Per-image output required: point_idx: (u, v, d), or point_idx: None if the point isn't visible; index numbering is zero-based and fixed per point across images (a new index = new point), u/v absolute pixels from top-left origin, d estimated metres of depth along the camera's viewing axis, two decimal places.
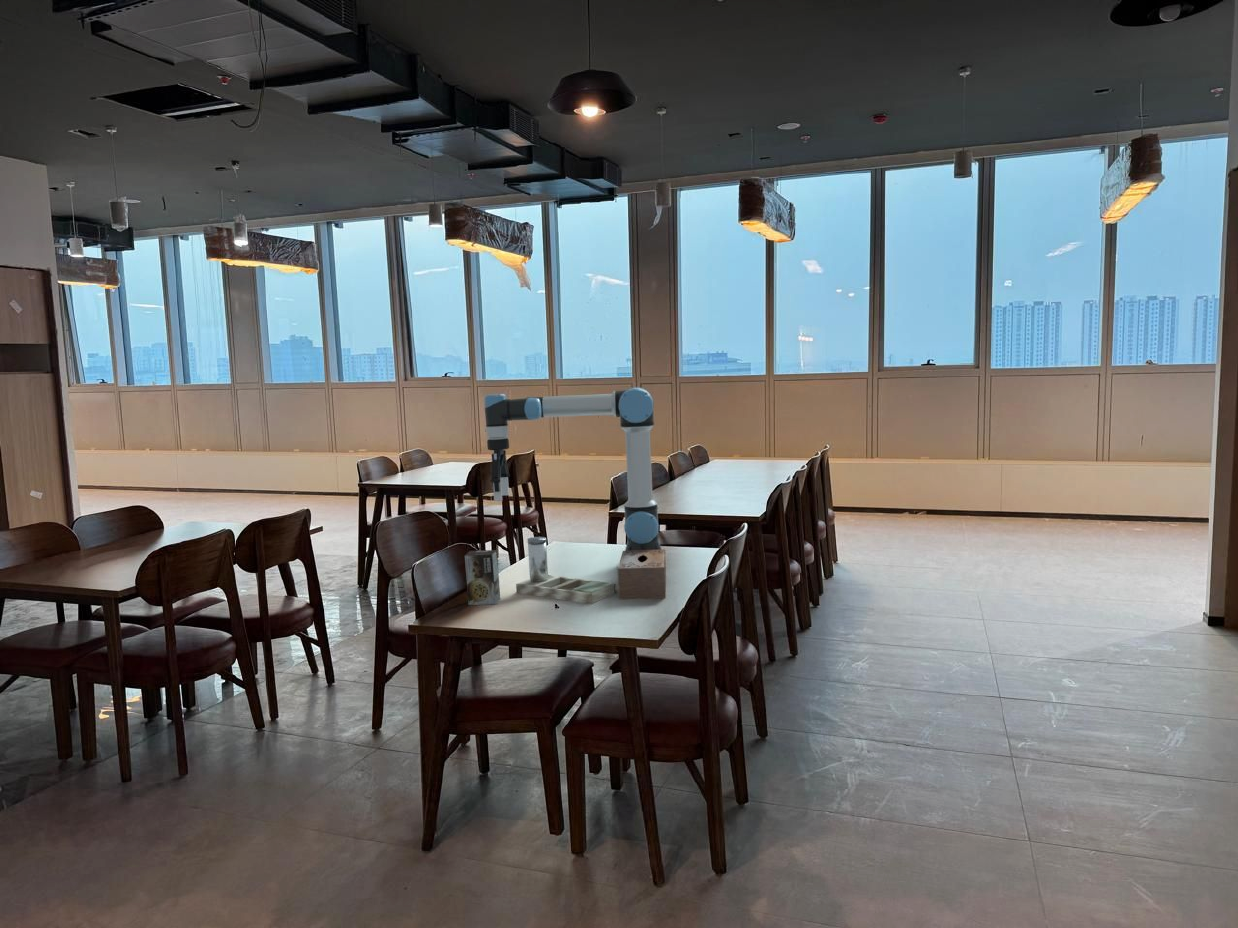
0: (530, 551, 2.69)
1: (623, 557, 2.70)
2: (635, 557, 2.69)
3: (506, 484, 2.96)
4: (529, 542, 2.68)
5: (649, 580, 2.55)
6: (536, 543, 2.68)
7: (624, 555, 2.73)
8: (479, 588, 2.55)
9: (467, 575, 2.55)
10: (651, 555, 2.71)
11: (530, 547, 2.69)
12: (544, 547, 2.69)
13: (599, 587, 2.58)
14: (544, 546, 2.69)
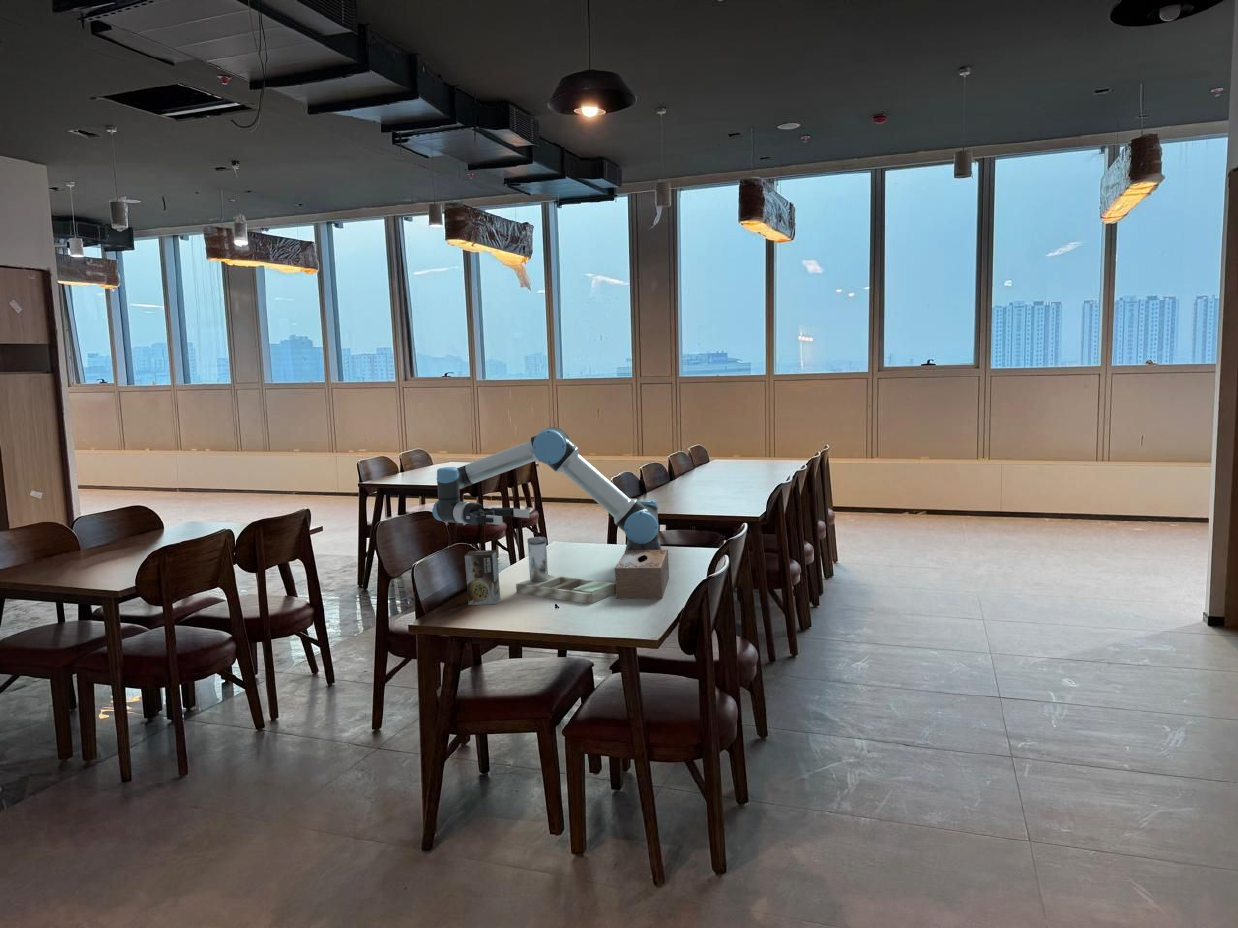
0: (530, 551, 2.69)
1: (624, 557, 2.70)
2: (636, 557, 2.69)
3: (519, 511, 2.82)
4: (529, 542, 2.68)
5: (646, 581, 2.55)
6: (536, 543, 2.68)
7: (625, 555, 2.73)
8: (479, 588, 2.55)
9: (467, 575, 2.55)
10: (652, 555, 2.71)
11: (530, 547, 2.69)
12: (544, 547, 2.69)
13: (599, 587, 2.58)
14: (544, 546, 2.69)
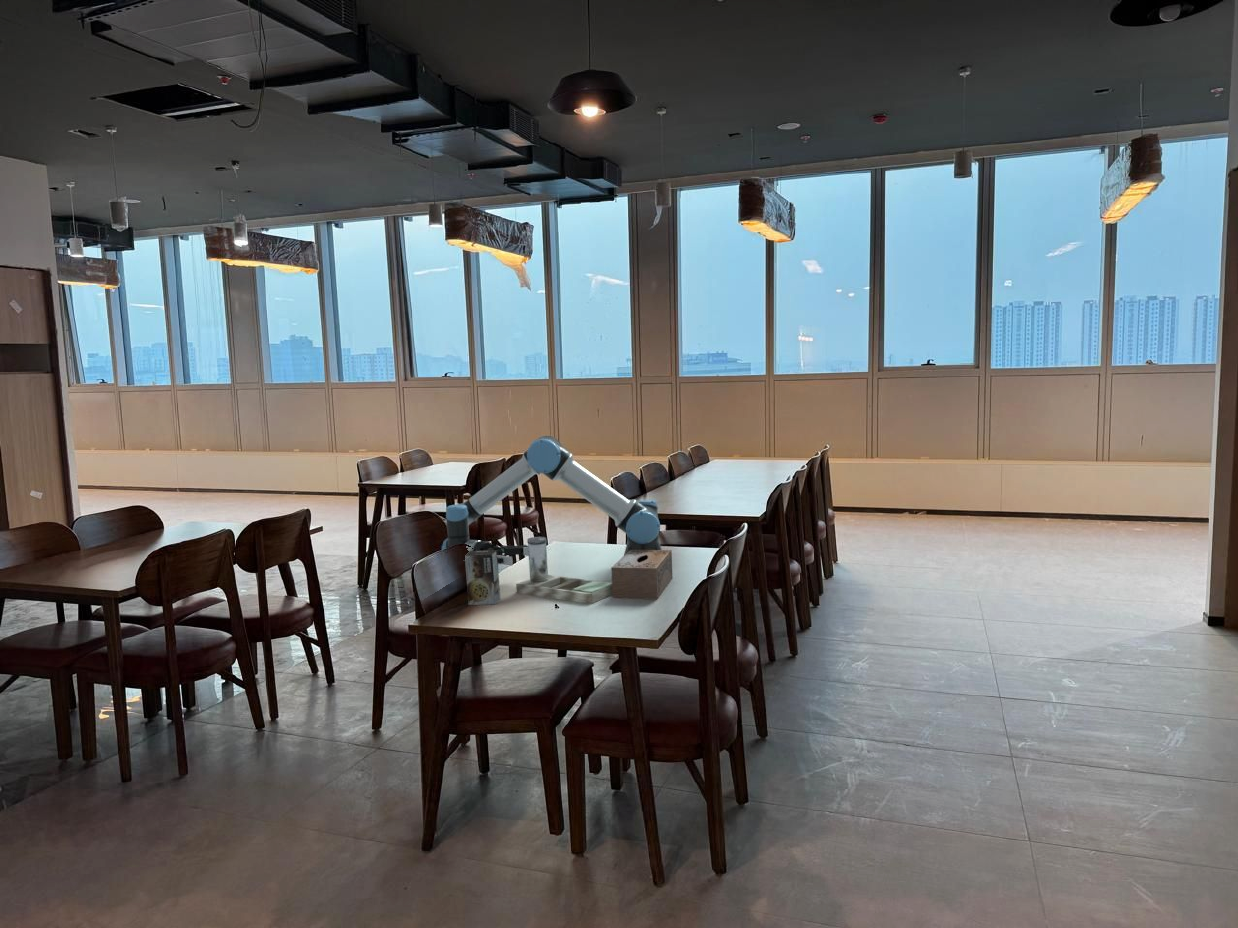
0: (530, 551, 2.69)
1: (625, 556, 2.71)
2: (636, 557, 2.70)
3: None
4: (529, 542, 2.68)
5: (642, 581, 2.55)
6: (536, 543, 2.68)
7: (627, 554, 2.74)
8: (479, 588, 2.55)
9: (467, 575, 2.56)
10: (653, 555, 2.70)
11: (530, 547, 2.69)
12: (544, 547, 2.69)
13: (599, 587, 2.58)
14: (544, 546, 2.69)
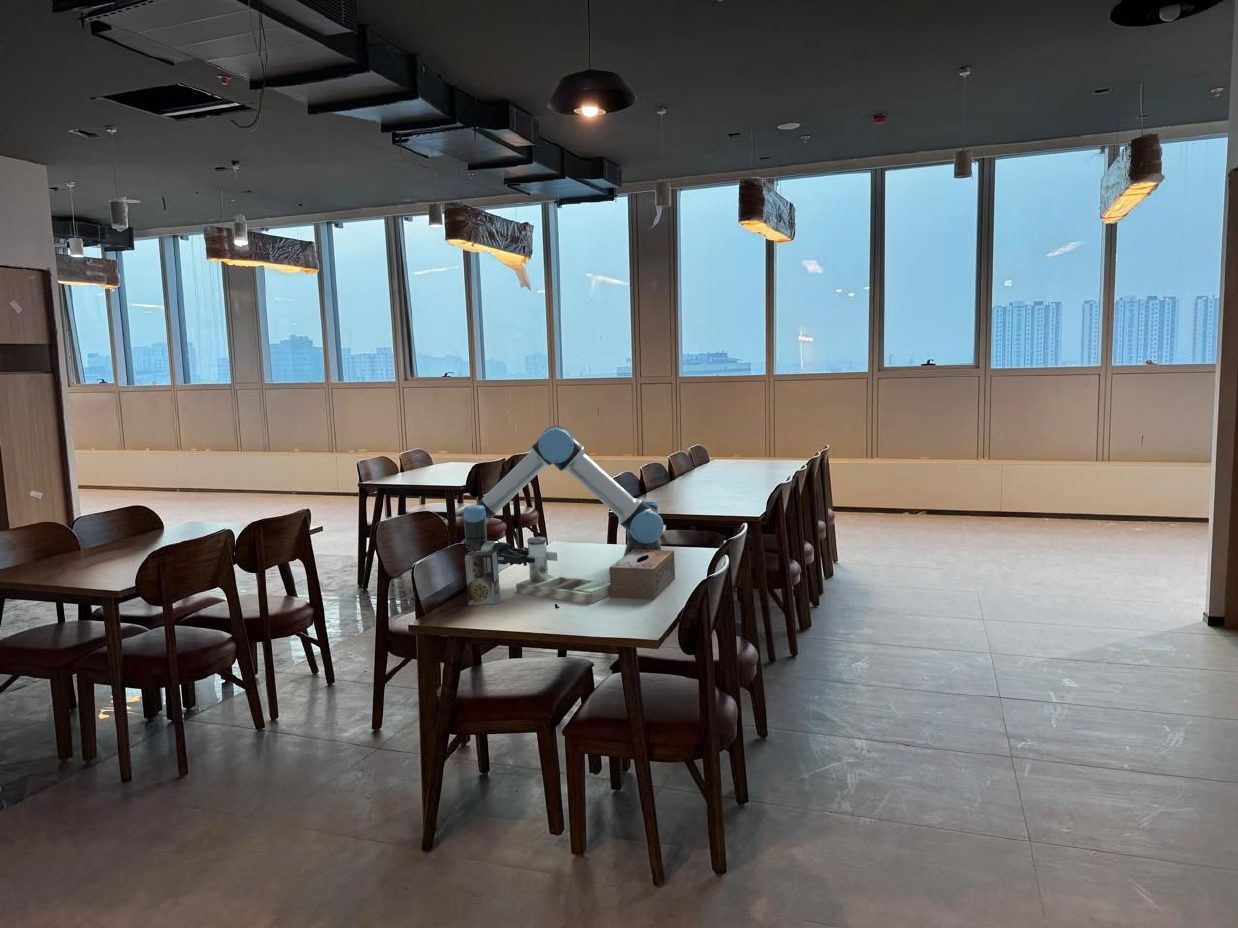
0: (530, 551, 2.69)
1: (626, 556, 2.71)
2: (637, 557, 2.70)
3: None
4: (529, 542, 2.68)
5: (639, 581, 2.55)
6: (536, 543, 2.68)
7: (629, 554, 2.74)
8: (479, 588, 2.55)
9: (467, 575, 2.55)
10: (654, 555, 2.70)
11: (530, 547, 2.69)
12: (544, 547, 2.69)
13: (599, 587, 2.58)
14: (544, 546, 2.69)
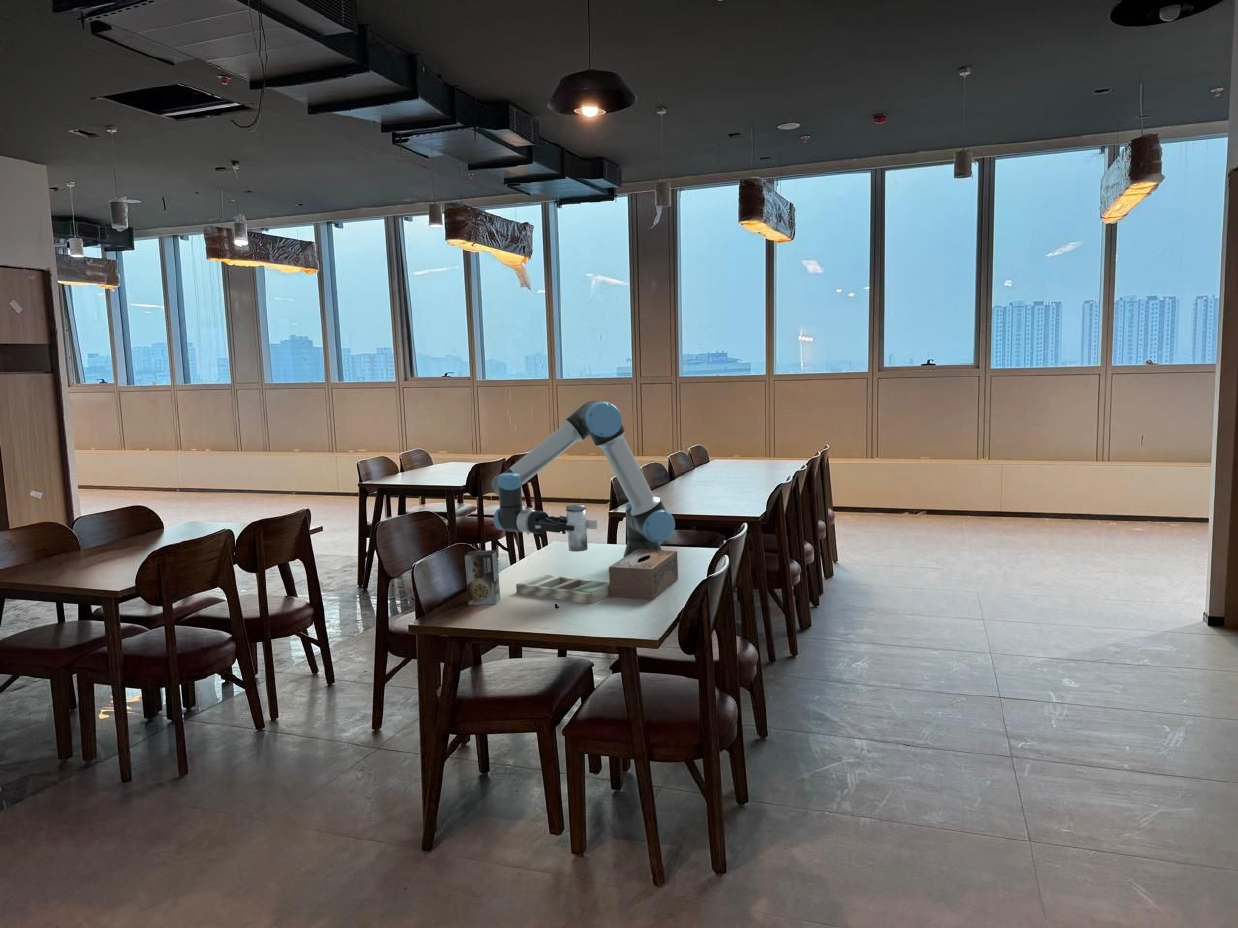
0: (569, 519, 2.57)
1: (628, 556, 2.71)
2: (639, 557, 2.70)
3: None
4: (568, 509, 2.56)
5: (638, 581, 2.55)
6: (575, 510, 2.55)
7: (632, 554, 2.74)
8: (479, 588, 2.55)
9: (467, 575, 2.56)
10: (656, 556, 2.70)
11: (569, 514, 2.56)
12: (584, 515, 2.57)
13: (599, 587, 2.58)
14: (583, 513, 2.57)
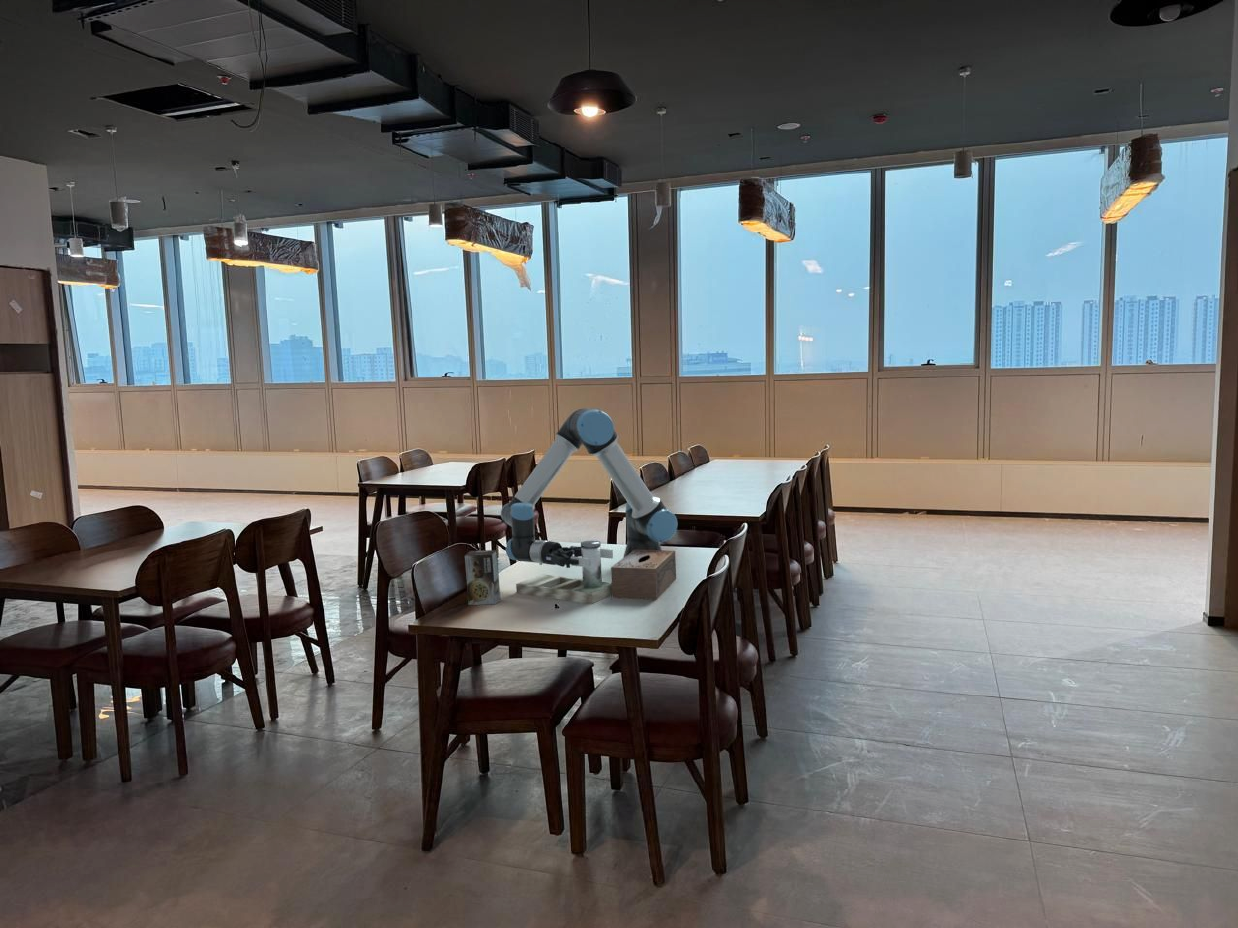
0: (584, 555, 2.56)
1: (627, 556, 2.71)
2: (638, 557, 2.69)
3: (601, 550, 2.64)
4: (583, 546, 2.56)
5: (641, 581, 2.54)
6: (590, 547, 2.55)
7: (630, 554, 2.74)
8: (479, 588, 2.55)
9: (467, 575, 2.55)
10: (655, 556, 2.70)
11: (584, 551, 2.56)
12: (599, 552, 2.57)
13: (599, 587, 2.58)
14: (598, 550, 2.57)
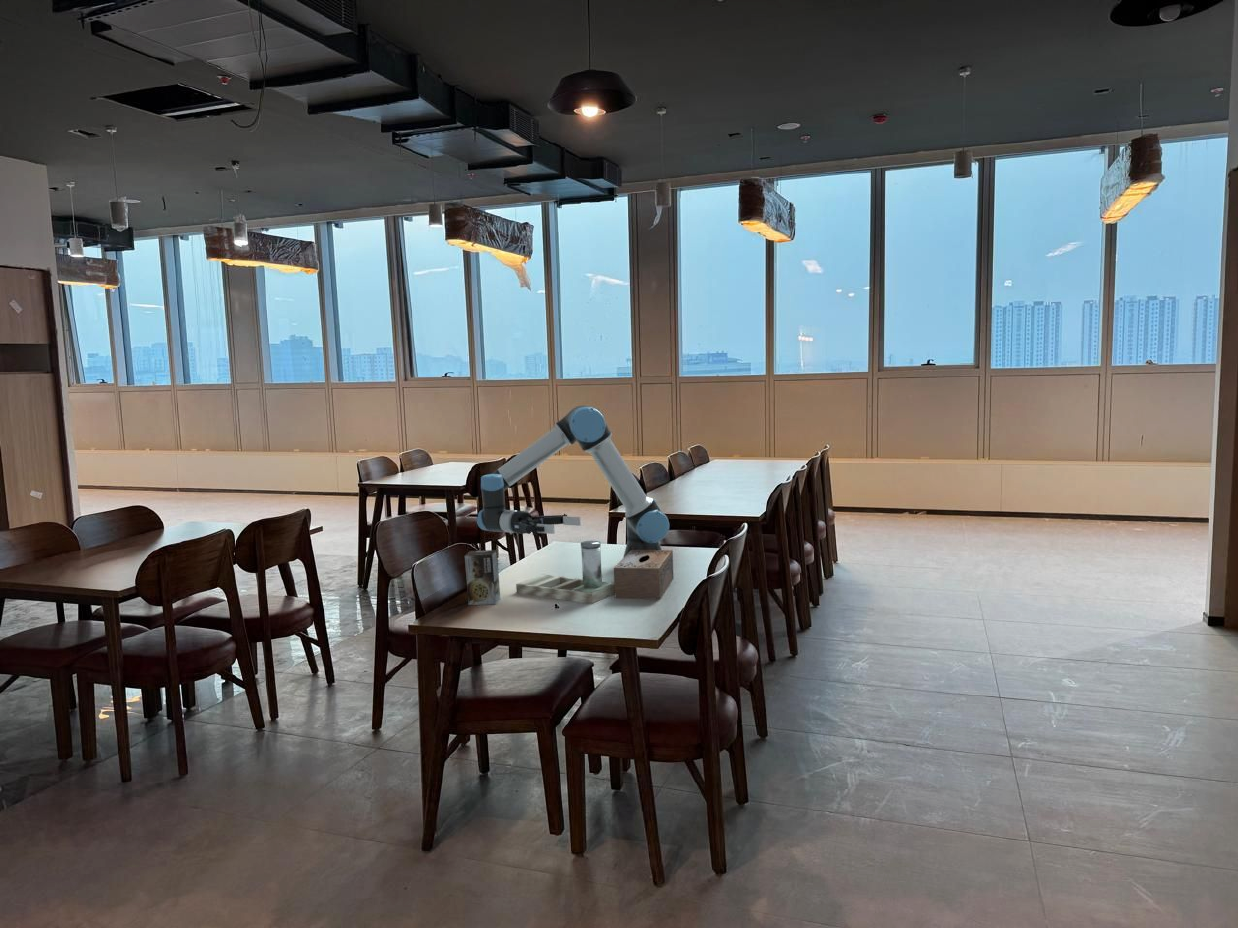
0: (584, 556, 2.56)
1: (626, 556, 2.71)
2: (638, 557, 2.69)
3: (569, 518, 2.70)
4: (583, 546, 2.56)
5: (644, 581, 2.54)
6: (590, 547, 2.55)
7: (629, 554, 2.73)
8: (479, 588, 2.55)
9: (467, 575, 2.55)
10: (655, 555, 2.70)
11: (584, 551, 2.56)
12: (599, 552, 2.57)
13: None
14: (598, 550, 2.57)
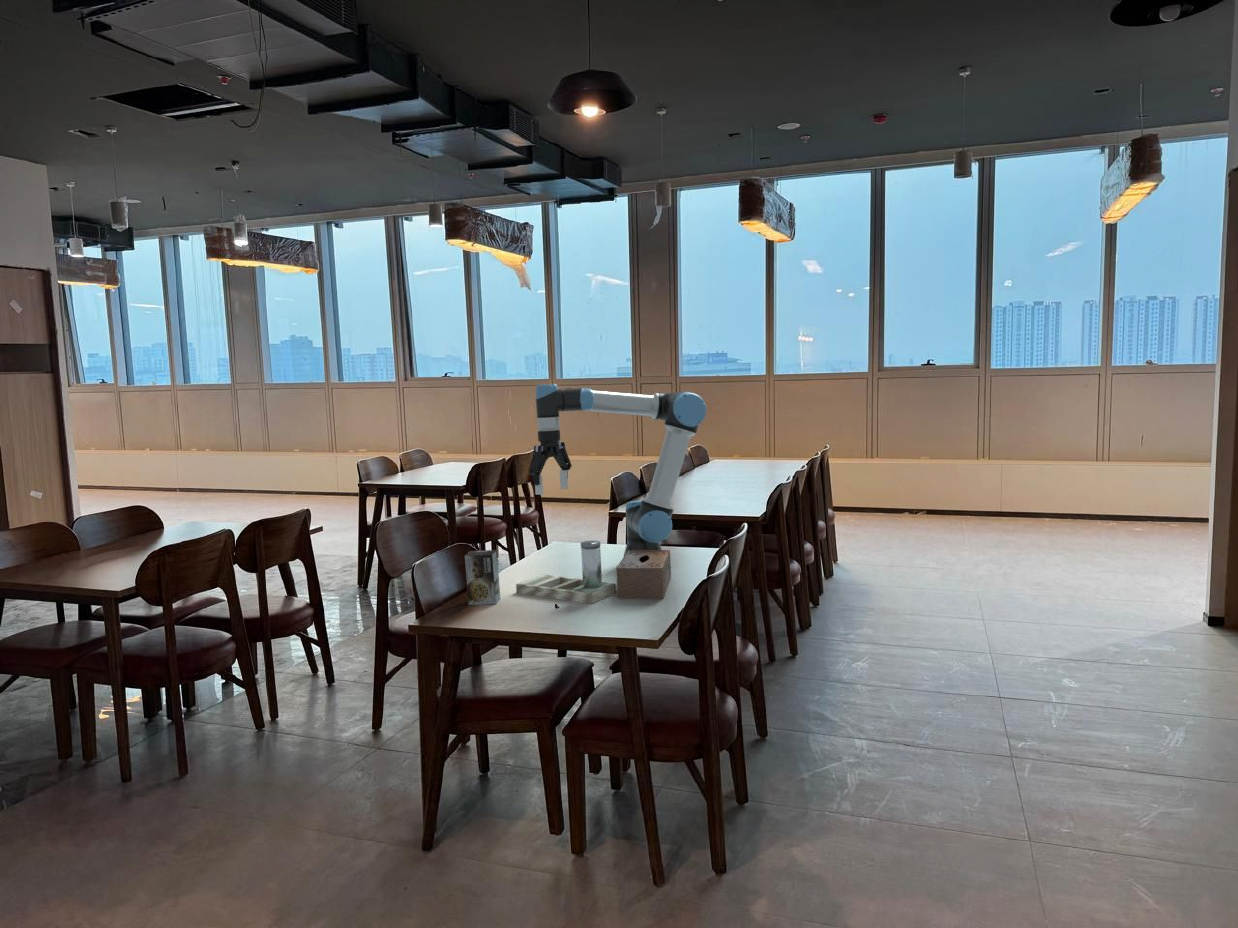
0: (584, 556, 2.56)
1: (626, 557, 2.70)
2: (637, 557, 2.69)
3: (564, 477, 2.85)
4: (583, 546, 2.56)
5: (647, 581, 2.54)
6: (590, 547, 2.55)
7: (627, 555, 2.73)
8: (479, 588, 2.55)
9: (467, 575, 2.55)
10: (654, 555, 2.70)
11: (584, 551, 2.56)
12: (599, 552, 2.57)
13: None
14: (598, 550, 2.57)
